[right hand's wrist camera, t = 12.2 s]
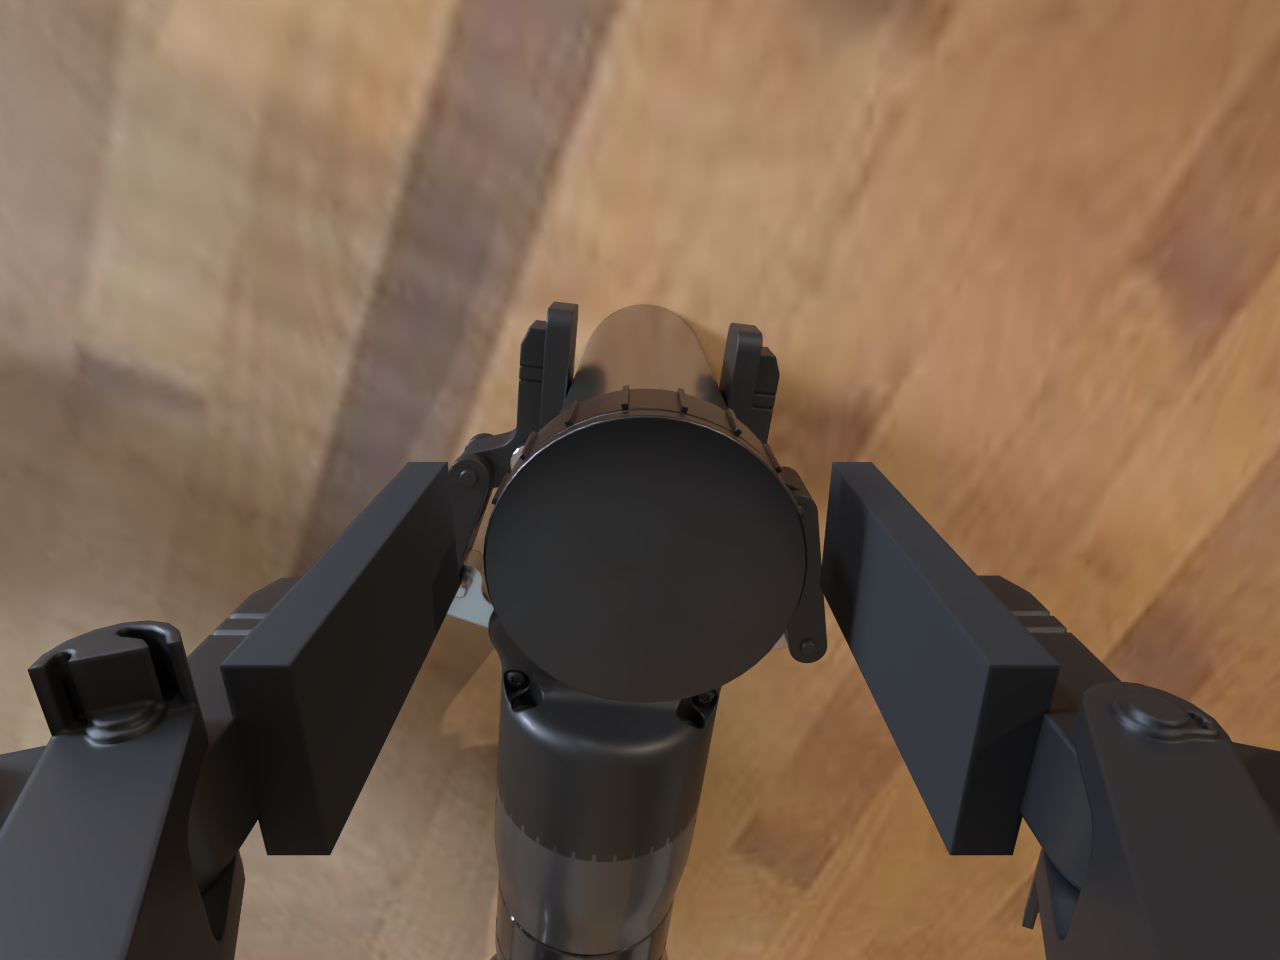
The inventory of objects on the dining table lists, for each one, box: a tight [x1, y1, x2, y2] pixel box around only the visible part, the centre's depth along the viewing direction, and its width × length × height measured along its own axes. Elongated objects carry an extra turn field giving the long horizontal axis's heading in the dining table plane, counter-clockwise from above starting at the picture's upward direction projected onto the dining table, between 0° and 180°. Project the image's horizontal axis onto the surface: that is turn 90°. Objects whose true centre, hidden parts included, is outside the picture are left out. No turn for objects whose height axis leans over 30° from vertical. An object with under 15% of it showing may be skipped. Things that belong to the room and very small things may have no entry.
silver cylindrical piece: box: [559, 305, 727, 415], centre depth 19 cm, size 5×5×16 cm
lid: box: [483, 385, 807, 703], centre depth 13 cm, size 6×6×2 cm
